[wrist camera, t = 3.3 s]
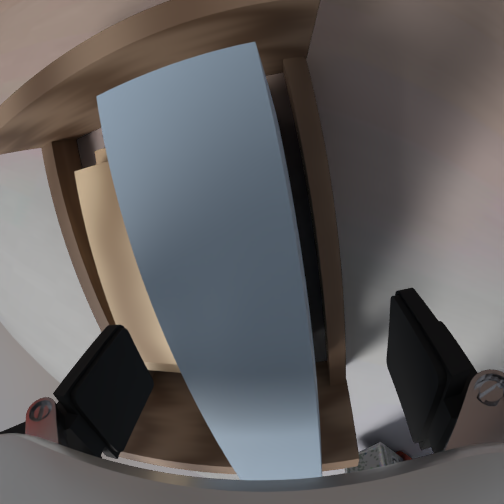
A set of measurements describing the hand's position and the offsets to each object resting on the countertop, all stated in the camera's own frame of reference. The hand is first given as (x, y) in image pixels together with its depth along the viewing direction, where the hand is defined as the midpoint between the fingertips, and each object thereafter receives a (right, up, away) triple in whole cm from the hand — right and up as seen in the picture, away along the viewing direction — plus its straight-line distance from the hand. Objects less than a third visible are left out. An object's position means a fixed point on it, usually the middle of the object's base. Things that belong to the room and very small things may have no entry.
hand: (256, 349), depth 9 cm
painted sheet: (+2, +4, +10) cm, 11 cm away
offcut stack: (-7, +3, +12) cm, 14 cm away
